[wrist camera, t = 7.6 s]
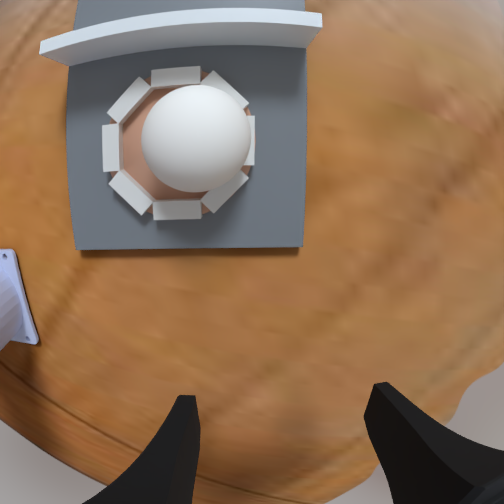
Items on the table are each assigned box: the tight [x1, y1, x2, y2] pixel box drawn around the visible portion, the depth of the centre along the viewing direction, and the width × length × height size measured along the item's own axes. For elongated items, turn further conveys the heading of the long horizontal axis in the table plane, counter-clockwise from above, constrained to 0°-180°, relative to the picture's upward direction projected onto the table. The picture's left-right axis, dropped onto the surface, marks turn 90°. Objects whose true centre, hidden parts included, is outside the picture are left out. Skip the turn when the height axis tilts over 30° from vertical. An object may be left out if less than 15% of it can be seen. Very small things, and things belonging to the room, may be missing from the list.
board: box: [39, 0, 322, 250], centre depth 13 cm, size 14×24×4 cm, turn 0°
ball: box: [141, 85, 251, 192], centre depth 13 cm, size 5×5×5 cm
